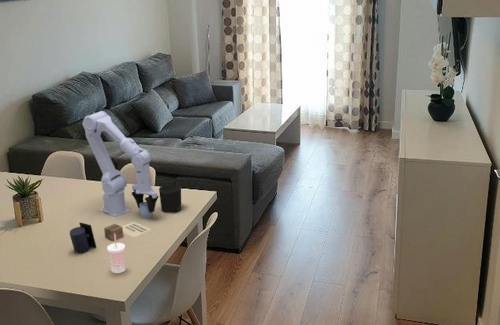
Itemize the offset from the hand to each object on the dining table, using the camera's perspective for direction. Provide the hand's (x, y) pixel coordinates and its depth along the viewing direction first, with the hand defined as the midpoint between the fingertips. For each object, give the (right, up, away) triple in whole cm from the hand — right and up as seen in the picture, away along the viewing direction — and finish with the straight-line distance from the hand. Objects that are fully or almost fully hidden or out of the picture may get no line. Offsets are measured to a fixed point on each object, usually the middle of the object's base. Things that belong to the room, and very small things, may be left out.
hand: (146, 209), depth 233 cm
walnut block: (-9, -10, -17) cm, 22 cm away
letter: (-3, -7, -10) cm, 13 cm away
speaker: (-19, -13, -26) cm, 35 cm away
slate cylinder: (0, -3, +1) cm, 4 cm away
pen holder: (+10, -1, +8) cm, 13 cm away
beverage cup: (-2, -18, -40) cm, 44 cm away
